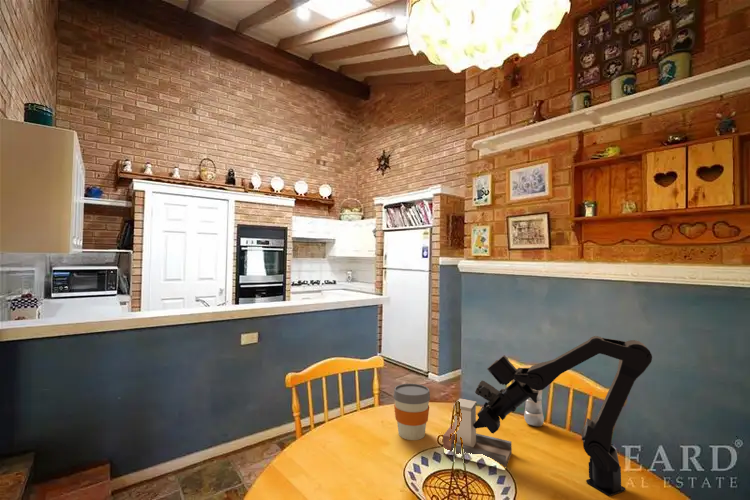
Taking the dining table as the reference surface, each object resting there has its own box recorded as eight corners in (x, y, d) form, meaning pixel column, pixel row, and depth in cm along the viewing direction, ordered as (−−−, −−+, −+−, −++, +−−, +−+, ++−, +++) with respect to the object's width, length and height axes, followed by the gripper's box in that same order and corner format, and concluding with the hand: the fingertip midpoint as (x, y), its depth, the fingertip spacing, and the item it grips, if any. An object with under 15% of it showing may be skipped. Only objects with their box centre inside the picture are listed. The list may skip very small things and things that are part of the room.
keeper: (476, 442, 113) (476, 401, 113) (471, 451, 107) (471, 408, 108) (459, 438, 115) (459, 398, 116) (453, 446, 110) (453, 404, 111)
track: (511, 453, 110) (511, 434, 110) (505, 470, 100) (505, 450, 100) (454, 438, 119) (454, 421, 119) (443, 453, 109) (443, 435, 109)
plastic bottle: (532, 429, 126) (532, 372, 127) (520, 421, 132) (519, 367, 133) (548, 427, 128) (547, 370, 129) (534, 419, 134) (534, 365, 135)
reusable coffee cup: (430, 444, 115) (430, 396, 116) (391, 441, 117) (391, 394, 118) (430, 427, 127) (430, 384, 128) (395, 424, 129) (395, 382, 130)
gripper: (497, 367, 117) (464, 395, 121) (485, 382, 100) (446, 414, 105) (524, 396, 112) (488, 424, 117) (515, 417, 96) (473, 448, 101)
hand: (474, 426), depth 110 cm, fingers closed, pressing on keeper
